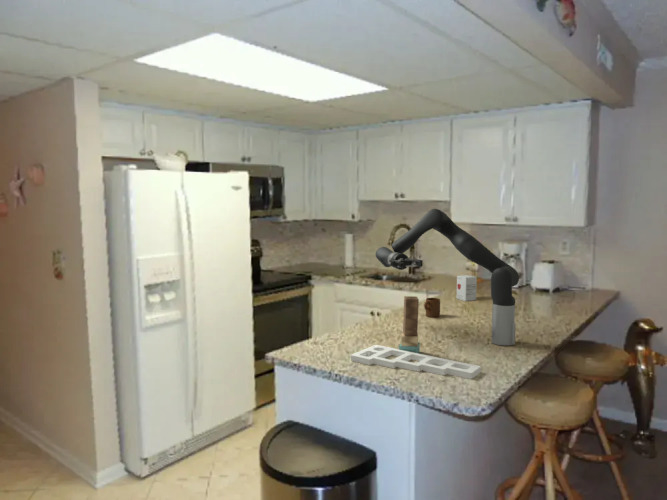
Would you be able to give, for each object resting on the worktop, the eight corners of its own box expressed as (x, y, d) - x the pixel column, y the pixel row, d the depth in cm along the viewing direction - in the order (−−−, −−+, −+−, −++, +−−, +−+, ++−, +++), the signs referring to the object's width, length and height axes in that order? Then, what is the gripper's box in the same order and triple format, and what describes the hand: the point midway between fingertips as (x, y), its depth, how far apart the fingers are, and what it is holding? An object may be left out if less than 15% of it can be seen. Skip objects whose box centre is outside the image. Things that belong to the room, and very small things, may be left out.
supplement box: (455, 298, 313) (456, 275, 311) (467, 297, 316) (467, 274, 315) (465, 301, 305) (465, 277, 303) (476, 300, 308) (477, 276, 307)
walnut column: (415, 332, 201) (416, 296, 198) (417, 336, 196) (418, 299, 194) (403, 332, 201) (404, 296, 198) (404, 335, 196) (406, 299, 194)
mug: (431, 320, 256) (431, 302, 255) (418, 317, 261) (418, 300, 260) (442, 316, 265) (442, 298, 264) (430, 314, 270) (430, 297, 269)
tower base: (419, 352, 201) (419, 342, 201) (416, 356, 195) (416, 347, 194) (402, 350, 204) (402, 340, 203) (398, 355, 197) (399, 345, 197)
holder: (480, 373, 176) (481, 366, 176) (460, 388, 162) (460, 380, 162) (375, 350, 204) (375, 344, 203) (350, 361, 190) (350, 354, 189)
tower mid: (417, 342, 201) (417, 332, 201) (417, 346, 195) (418, 336, 195) (401, 341, 202) (401, 331, 202) (401, 345, 196) (401, 336, 196)
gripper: (383, 253, 226) (397, 256, 210) (412, 252, 229) (427, 255, 214) (383, 269, 227) (396, 274, 211) (412, 268, 230) (427, 272, 215)
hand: (412, 264), depth 212 cm, fingers open, 8 cm apart
